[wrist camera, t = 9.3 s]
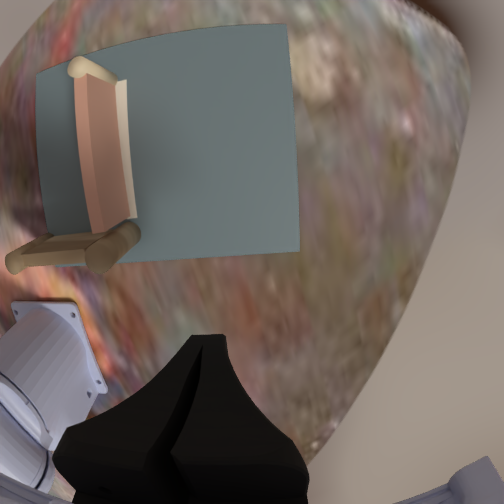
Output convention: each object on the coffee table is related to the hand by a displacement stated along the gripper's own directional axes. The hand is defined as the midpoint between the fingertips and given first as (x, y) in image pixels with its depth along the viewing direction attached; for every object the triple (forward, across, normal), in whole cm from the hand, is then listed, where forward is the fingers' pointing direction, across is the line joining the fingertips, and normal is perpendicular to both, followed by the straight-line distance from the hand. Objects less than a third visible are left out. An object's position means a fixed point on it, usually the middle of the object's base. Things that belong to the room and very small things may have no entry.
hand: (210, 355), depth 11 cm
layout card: (+9, +4, -8) cm, 13 cm away
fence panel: (+9, +6, -9) cm, 14 cm away
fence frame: (+9, +9, -3) cm, 13 cm away
